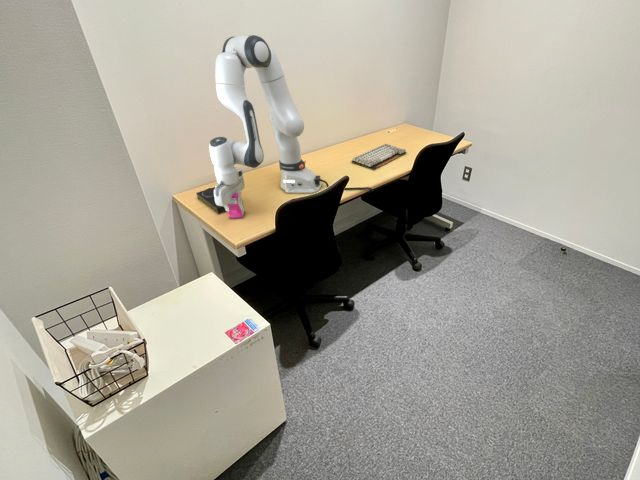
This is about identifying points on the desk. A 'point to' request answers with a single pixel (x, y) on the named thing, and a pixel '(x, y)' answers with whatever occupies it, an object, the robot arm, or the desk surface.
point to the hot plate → (210, 200)
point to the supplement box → (236, 206)
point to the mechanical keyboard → (378, 156)
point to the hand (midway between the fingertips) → (233, 205)
